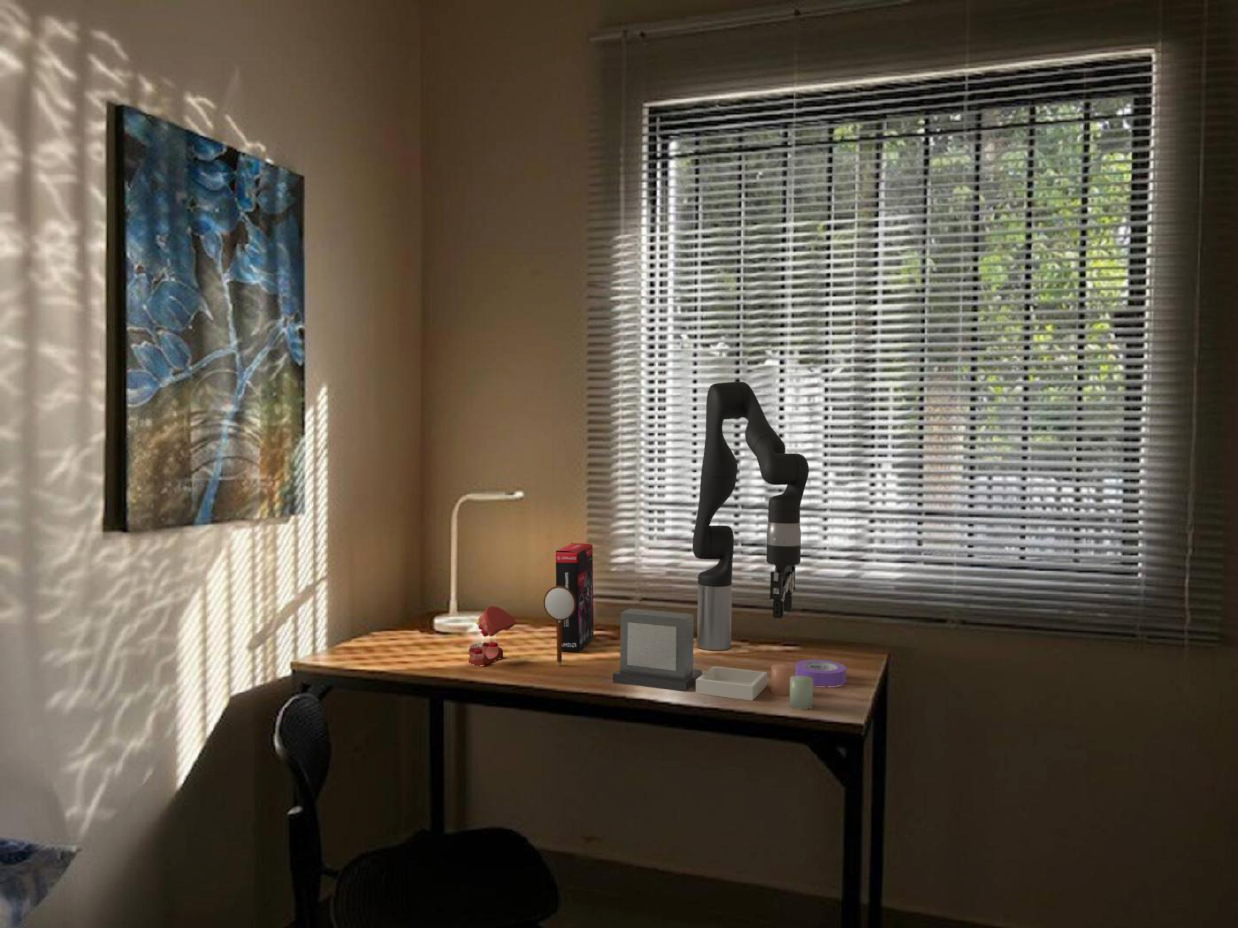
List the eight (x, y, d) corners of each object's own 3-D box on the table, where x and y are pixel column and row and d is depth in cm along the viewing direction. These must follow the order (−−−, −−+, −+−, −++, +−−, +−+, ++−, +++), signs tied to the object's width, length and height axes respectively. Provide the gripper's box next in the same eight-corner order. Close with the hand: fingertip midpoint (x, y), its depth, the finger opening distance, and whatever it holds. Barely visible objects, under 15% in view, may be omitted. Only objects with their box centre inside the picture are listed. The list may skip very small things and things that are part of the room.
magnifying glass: (576, 666, 224) (577, 586, 223) (574, 668, 222) (574, 587, 222) (544, 663, 227) (545, 584, 226) (542, 664, 225) (542, 585, 225)
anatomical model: (475, 651, 235) (494, 600, 233) (500, 665, 233) (520, 614, 230) (454, 661, 226) (474, 608, 223) (480, 676, 223) (501, 622, 220)
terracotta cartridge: (773, 689, 206) (774, 663, 205) (794, 691, 204) (795, 665, 204) (768, 694, 201) (769, 667, 201) (790, 697, 199) (790, 670, 199)
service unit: (632, 669, 221) (632, 605, 221) (702, 678, 214) (703, 611, 214) (612, 681, 210) (613, 613, 210) (685, 691, 203) (686, 620, 203)
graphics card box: (579, 653, 237) (580, 550, 236) (553, 652, 239) (554, 549, 238) (594, 639, 254) (594, 543, 253) (570, 638, 255) (571, 542, 254)
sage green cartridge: (792, 701, 196) (792, 674, 196) (814, 704, 194) (814, 676, 194) (787, 707, 192) (787, 679, 191) (810, 710, 190) (810, 682, 189)
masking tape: (852, 688, 208) (853, 671, 208) (803, 689, 207) (803, 672, 207) (836, 674, 219) (836, 659, 219) (789, 675, 218) (789, 659, 218)
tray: (712, 679, 214) (713, 666, 213) (766, 685, 208) (767, 672, 208) (695, 693, 202) (695, 679, 201) (752, 700, 196) (752, 686, 196)
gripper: (793, 546, 193) (792, 621, 194) (806, 540, 207) (805, 610, 207) (759, 544, 196) (758, 618, 197) (774, 538, 209) (773, 607, 210)
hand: (782, 614), depth 202 cm, fingers open, 8 cm apart
